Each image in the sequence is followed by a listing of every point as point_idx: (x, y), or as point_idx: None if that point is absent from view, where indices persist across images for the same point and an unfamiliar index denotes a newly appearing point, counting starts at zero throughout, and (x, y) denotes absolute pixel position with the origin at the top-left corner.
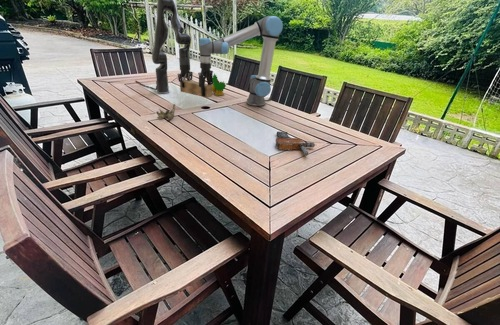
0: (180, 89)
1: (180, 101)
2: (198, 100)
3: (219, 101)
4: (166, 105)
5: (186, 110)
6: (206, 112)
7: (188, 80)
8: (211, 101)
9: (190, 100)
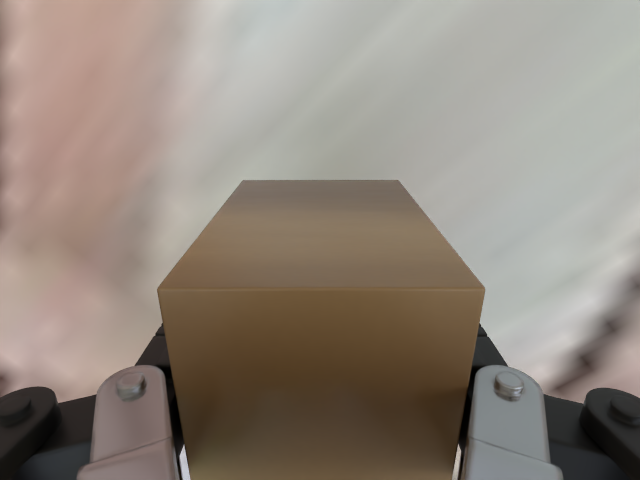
0: (233, 193)
1: (342, 52)
2: (528, 204)
3: (614, 385)
4: (72, 44)
5: (149, 339)
6: None
7: (432, 454)
8: (571, 332)
9: (469, 126)
